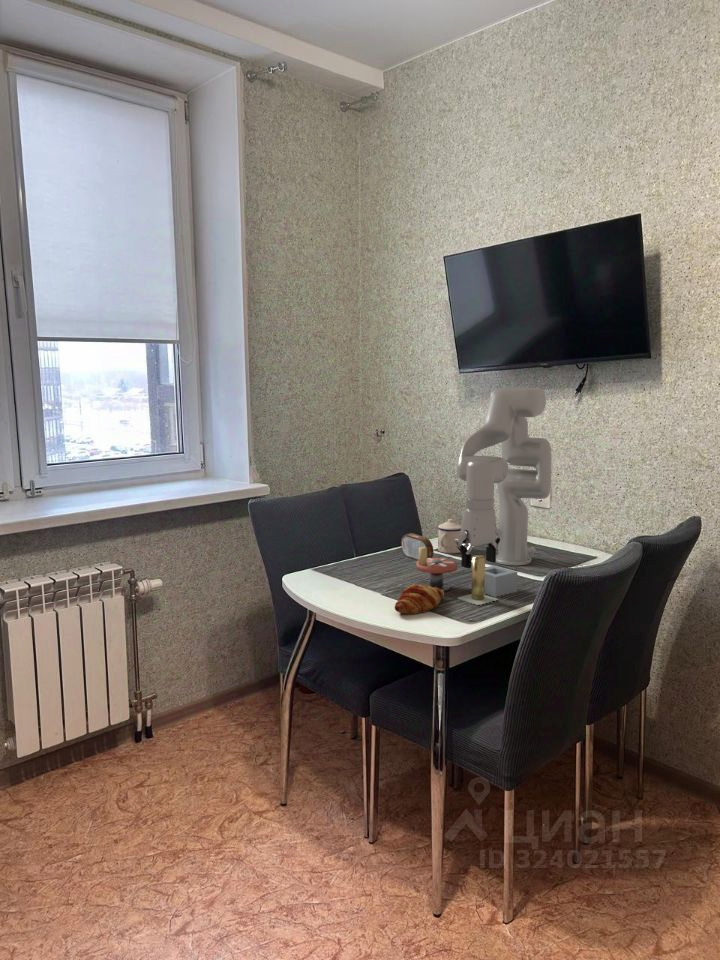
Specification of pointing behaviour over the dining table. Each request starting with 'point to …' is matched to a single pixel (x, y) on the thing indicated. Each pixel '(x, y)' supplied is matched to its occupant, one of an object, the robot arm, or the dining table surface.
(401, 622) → the dining table surface
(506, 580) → the eye block
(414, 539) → the tin
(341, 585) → the dining table surface
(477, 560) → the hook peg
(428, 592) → the croissant
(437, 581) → the wheel post
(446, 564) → the handwheel
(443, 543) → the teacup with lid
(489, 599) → the sage mat
